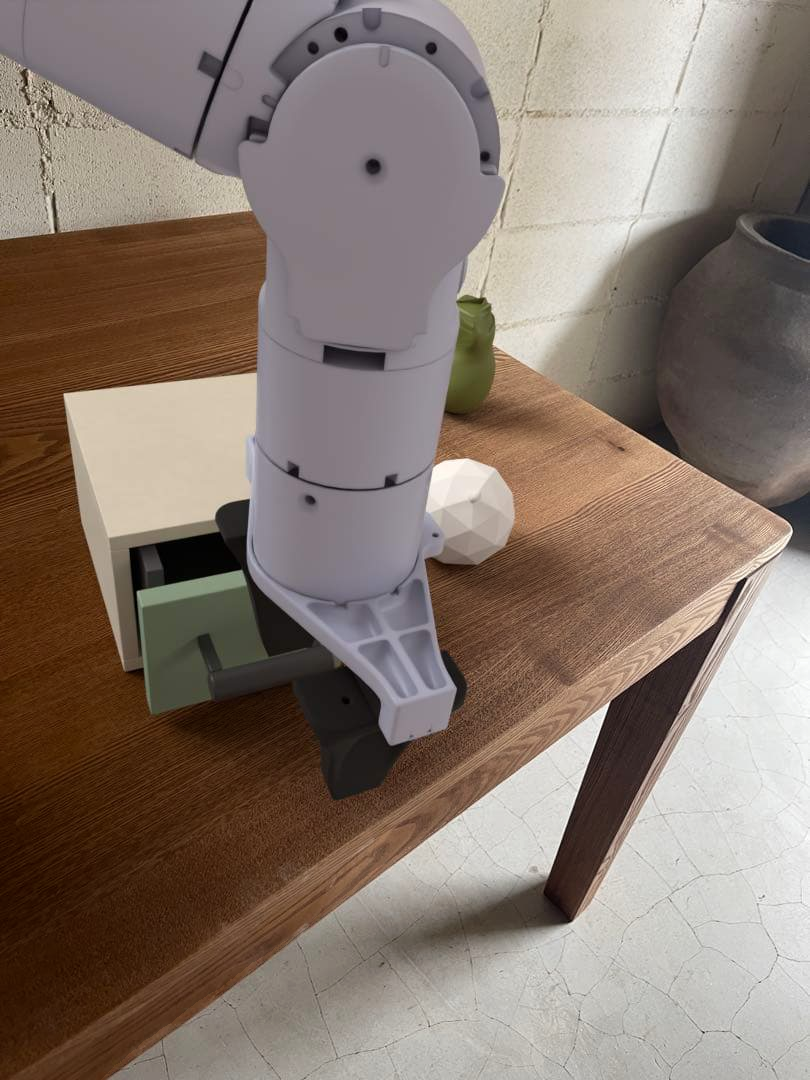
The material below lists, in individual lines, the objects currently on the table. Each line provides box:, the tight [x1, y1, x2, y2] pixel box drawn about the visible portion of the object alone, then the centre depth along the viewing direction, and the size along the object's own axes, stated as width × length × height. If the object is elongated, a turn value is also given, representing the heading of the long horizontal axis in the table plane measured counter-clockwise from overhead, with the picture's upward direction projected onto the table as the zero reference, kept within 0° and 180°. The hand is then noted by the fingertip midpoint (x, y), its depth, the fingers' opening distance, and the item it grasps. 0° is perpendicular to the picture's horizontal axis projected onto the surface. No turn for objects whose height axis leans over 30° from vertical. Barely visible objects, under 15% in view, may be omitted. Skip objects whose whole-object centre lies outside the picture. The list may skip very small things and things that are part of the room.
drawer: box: [129, 532, 342, 716], centre depth 47 cm, size 16×11×8 cm, turn 25°
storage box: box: [63, 372, 257, 672], centre depth 52 cm, size 14×12×10 cm
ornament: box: [425, 457, 516, 566], centre depth 57 cm, size 7×7×8 cm
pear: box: [444, 294, 497, 414], centre depth 71 cm, size 6×5×10 cm
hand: (318, 711), depth 36 cm, fingers open, 7 cm apart
